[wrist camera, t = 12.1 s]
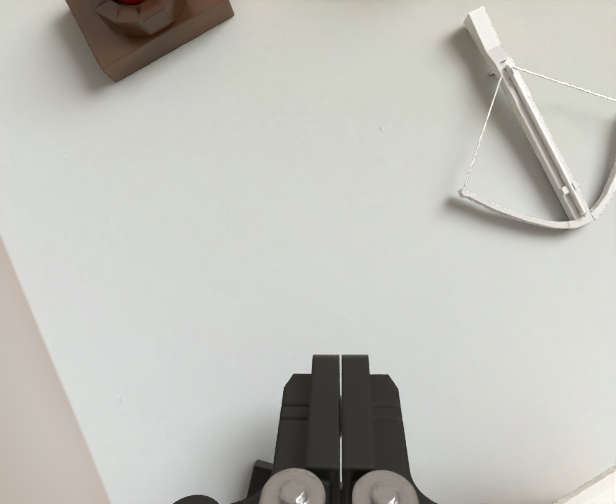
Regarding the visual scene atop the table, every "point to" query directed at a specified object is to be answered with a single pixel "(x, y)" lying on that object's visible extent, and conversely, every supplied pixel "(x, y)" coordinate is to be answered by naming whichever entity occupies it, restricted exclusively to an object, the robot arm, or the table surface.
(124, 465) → the table surface
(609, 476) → the bowl
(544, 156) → the crossbow
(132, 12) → the button block
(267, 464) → the bracket
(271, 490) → the robot arm
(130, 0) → the button
